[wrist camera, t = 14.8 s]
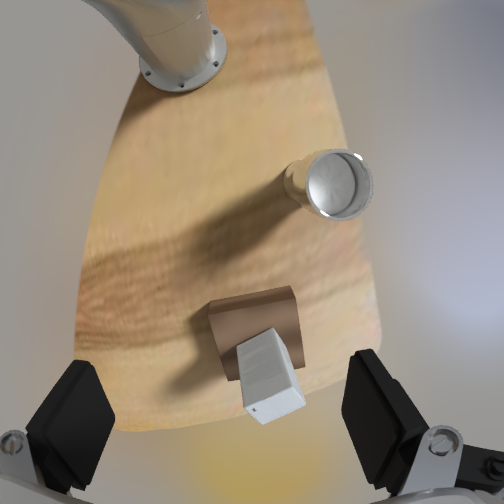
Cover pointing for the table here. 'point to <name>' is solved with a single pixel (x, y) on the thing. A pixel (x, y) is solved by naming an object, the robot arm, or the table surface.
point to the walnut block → (255, 324)
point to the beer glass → (330, 184)
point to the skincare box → (268, 378)
